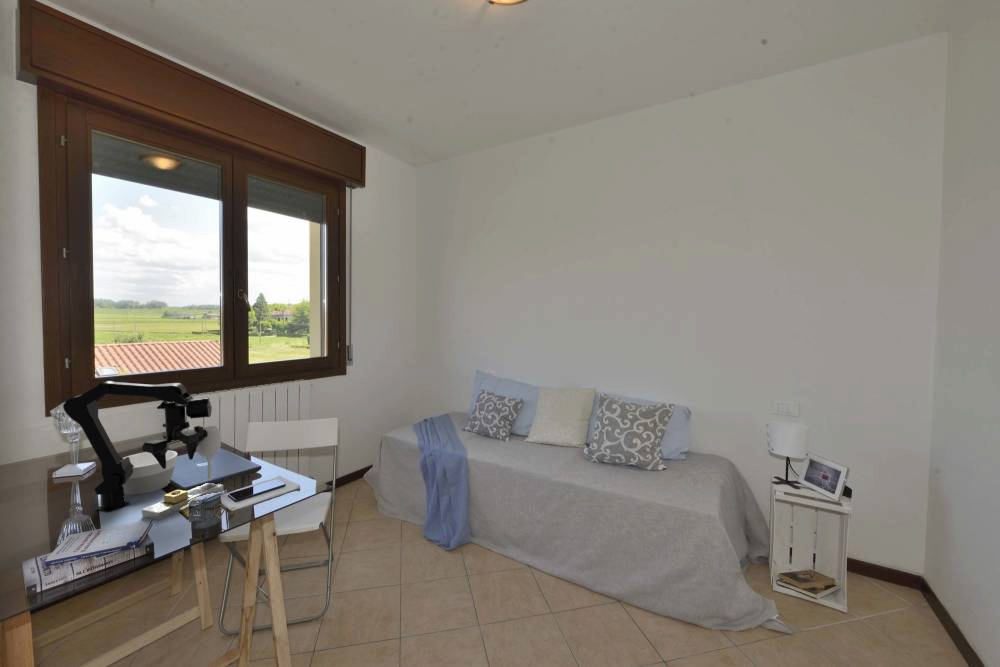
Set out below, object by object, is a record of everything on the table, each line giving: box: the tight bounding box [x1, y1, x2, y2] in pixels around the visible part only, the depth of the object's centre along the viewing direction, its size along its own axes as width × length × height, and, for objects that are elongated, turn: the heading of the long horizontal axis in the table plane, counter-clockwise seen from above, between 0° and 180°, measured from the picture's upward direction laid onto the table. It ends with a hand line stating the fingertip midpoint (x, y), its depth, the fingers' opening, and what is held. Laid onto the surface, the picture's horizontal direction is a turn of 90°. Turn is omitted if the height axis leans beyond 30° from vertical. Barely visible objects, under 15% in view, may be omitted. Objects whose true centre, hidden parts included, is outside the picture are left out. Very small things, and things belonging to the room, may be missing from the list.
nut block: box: [163, 489, 188, 505], centre depth 143 cm, size 4×4×5 cm
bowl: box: [122, 450, 178, 496], centre depth 160 cm, size 19×19×11 cm
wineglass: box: [195, 425, 222, 479], centre depth 163 cm, size 9×9×21 cm
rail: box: [141, 483, 224, 521], centre depth 146 cm, size 8×22×3 cm, turn 162°
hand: (177, 463), depth 150 cm, fingers open, 9 cm apart
